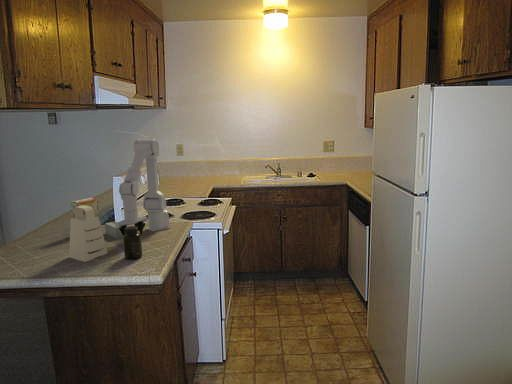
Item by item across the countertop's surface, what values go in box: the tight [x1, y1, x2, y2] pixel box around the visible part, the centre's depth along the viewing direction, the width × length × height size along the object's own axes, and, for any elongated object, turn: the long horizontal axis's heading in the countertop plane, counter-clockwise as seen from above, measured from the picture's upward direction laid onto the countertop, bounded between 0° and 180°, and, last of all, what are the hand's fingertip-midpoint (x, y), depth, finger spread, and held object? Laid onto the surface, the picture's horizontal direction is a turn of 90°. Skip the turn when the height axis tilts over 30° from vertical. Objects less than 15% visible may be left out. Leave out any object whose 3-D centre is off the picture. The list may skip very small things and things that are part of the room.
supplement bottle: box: [123, 225, 143, 261], centre depth 168 cm, size 7×7×12 cm
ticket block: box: [104, 221, 123, 239], centre depth 199 cm, size 5×12×5 cm, turn 41°
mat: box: [103, 233, 151, 248], centre depth 195 cm, size 13×26×1 cm, turn 42°
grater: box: [68, 205, 108, 263], centre depth 171 cm, size 10×10×20 cm
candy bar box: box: [70, 197, 100, 230], centre depth 203 cm, size 11×5×16 cm, turn 149°
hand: (133, 240), depth 186 cm, fingers closed on stub, 5 cm apart
